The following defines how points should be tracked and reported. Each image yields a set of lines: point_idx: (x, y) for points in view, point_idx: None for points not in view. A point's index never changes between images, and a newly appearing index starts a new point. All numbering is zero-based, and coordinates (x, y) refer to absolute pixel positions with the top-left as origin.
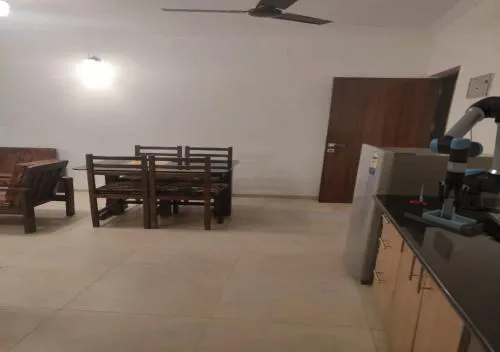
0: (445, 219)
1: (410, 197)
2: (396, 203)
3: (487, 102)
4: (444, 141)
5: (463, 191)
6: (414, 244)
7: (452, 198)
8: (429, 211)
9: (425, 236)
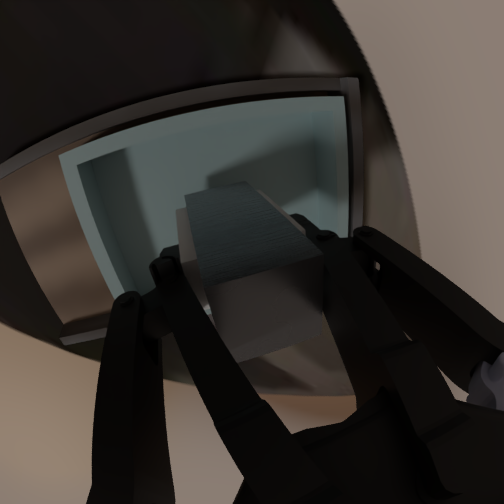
0: (162, 168)
1: None
2: None
3: None
4: None
5: (460, 375)
6: (296, 395)
7: (248, 275)
8: (17, 168)
9: (272, 358)
